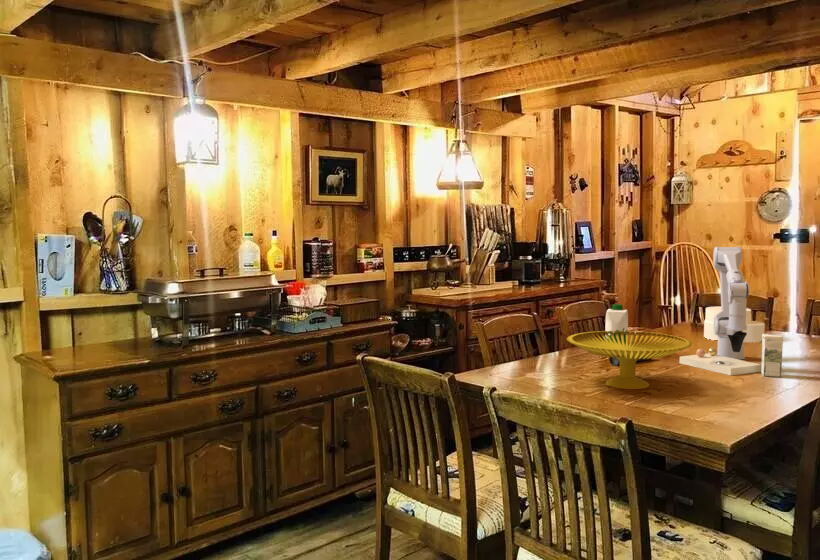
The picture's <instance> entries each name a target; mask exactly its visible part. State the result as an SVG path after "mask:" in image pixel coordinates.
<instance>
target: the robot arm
mask: <svg viewBox="0 0 820 560" xmlns="http://www.w3.org/2000/svg"><path fill="white" fill-rule="evenodd" d="M712 254H713V255H712V256H713V257H712V259H713V269H715V270H717V271H718V274H719V281H720V285H719V286H720V306H721V312H719V313H718V314H716V315H715V317H714V333H715V334H716V335H717V336H718V341H717V348H716V350H717V354H716V355H719V356H724V357H729V358H734V359H738V360H745V359H746V357H745V353H744V352H745V342H744V341H743V340H744V338H745V336H746V335H747V333H746V332H743V330H747V325H746V308H747V303H748V302H747V299H748V298H749V295H750V287H749V283H748V281H746V280H745V278H744V274H743V272H742V270H741V269H739V268H740V266H741V264H742V260H743V249H742V247H741V246H715V247H714V248H713V253H712Z"/></svg>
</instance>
